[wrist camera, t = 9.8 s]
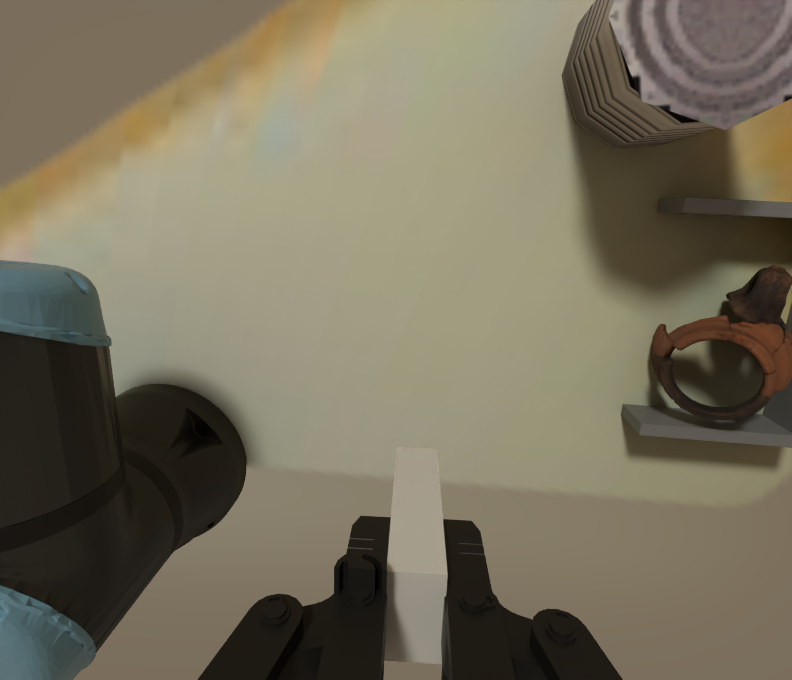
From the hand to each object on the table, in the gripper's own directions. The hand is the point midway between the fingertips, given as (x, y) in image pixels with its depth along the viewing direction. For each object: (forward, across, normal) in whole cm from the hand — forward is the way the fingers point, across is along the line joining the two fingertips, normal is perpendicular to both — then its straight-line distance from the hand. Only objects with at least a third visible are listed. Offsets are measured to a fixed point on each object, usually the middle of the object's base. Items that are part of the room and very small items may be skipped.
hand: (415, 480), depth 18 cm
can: (+24, -16, -20) cm, 35 cm away
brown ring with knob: (+24, -24, -1) cm, 34 cm away
